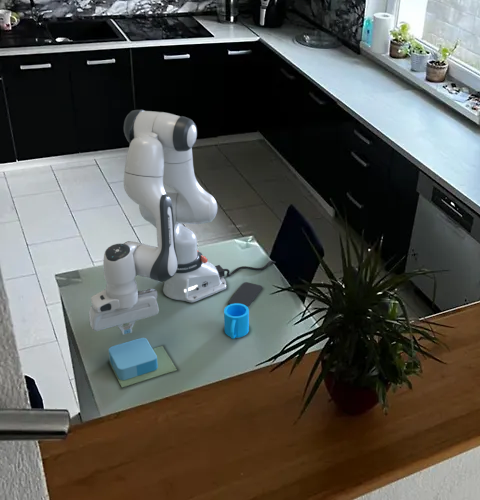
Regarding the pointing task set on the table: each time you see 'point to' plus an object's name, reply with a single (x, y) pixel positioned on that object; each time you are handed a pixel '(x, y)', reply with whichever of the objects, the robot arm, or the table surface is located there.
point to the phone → (245, 294)
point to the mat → (163, 368)
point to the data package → (133, 358)
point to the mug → (236, 320)
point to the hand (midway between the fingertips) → (126, 332)
